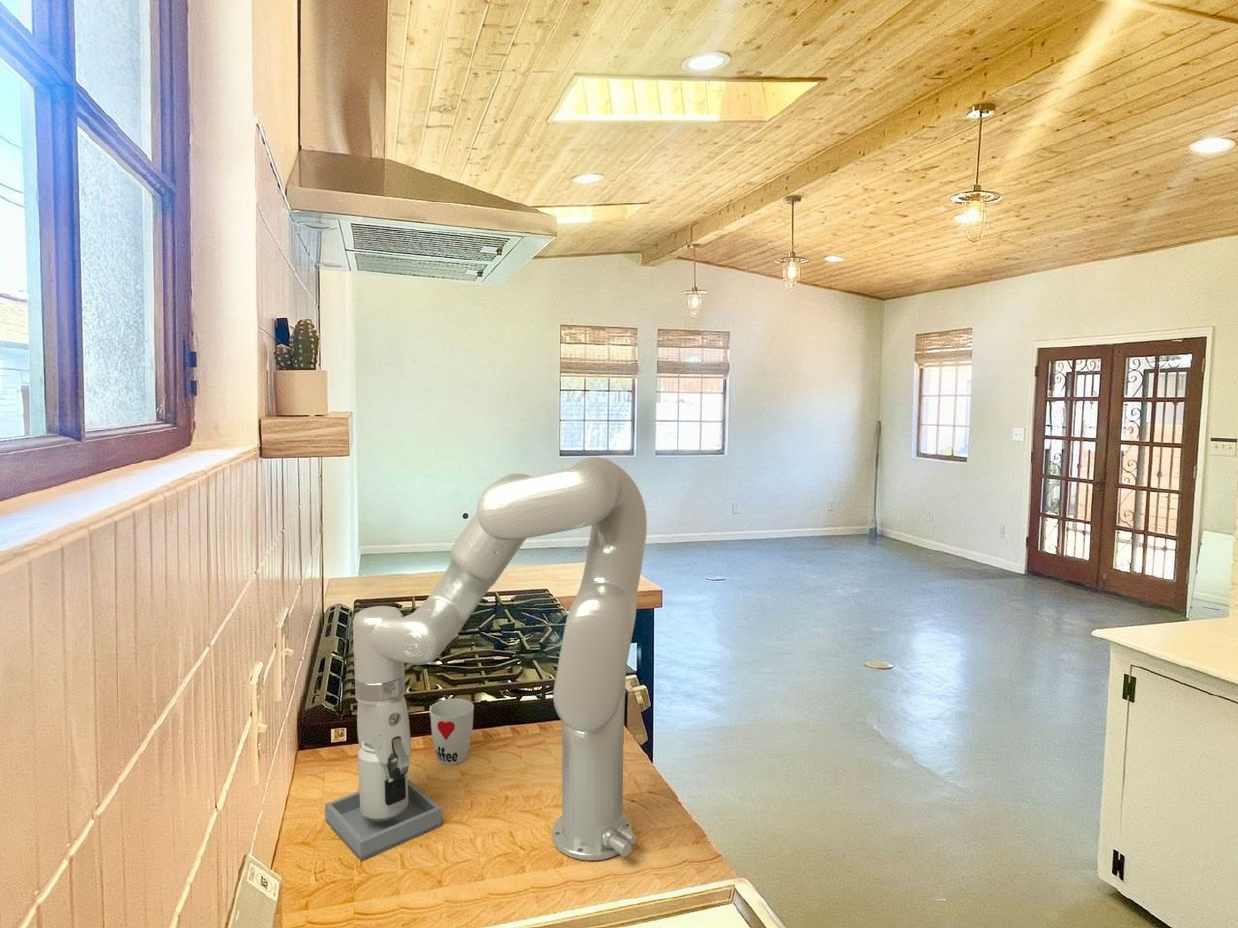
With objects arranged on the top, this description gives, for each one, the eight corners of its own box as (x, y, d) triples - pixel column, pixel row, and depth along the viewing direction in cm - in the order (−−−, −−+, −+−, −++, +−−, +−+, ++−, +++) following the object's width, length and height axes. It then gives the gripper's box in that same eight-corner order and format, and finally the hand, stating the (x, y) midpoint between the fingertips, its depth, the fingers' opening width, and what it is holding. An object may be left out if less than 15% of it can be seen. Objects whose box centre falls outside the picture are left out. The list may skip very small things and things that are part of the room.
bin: (442, 825, 121) (441, 807, 121) (361, 861, 112) (360, 842, 112) (402, 790, 131) (402, 774, 131) (325, 821, 122) (324, 803, 121)
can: (394, 826, 117) (392, 753, 115) (350, 820, 118) (347, 748, 117) (416, 800, 124) (414, 731, 123) (375, 794, 126) (372, 726, 124)
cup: (421, 760, 141) (420, 709, 140) (453, 743, 148) (453, 694, 147) (451, 773, 137) (450, 721, 135) (483, 755, 143) (482, 705, 142)
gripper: (428, 696, 115) (431, 804, 117) (378, 663, 127) (381, 762, 130) (382, 711, 110) (386, 824, 112) (334, 675, 122) (338, 777, 125)
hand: (383, 790), depth 121 cm, fingers closed on can, 7 cm apart
